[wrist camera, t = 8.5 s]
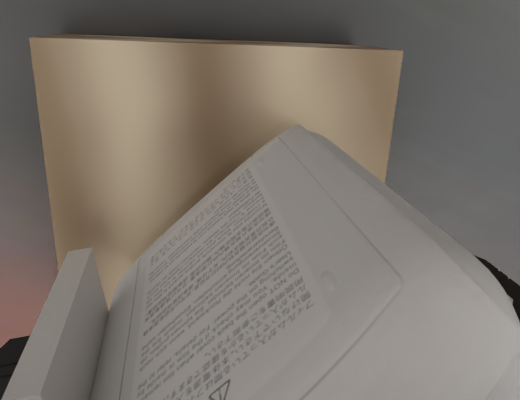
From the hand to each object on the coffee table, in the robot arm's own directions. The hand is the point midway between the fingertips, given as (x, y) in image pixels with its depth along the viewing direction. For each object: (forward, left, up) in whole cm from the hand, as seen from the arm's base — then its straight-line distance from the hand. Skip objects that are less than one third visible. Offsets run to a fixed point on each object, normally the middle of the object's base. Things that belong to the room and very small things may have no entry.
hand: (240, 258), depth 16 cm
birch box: (0, 0, -10) cm, 10 cm away
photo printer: (0, 0, -2) cm, 2 cm away
